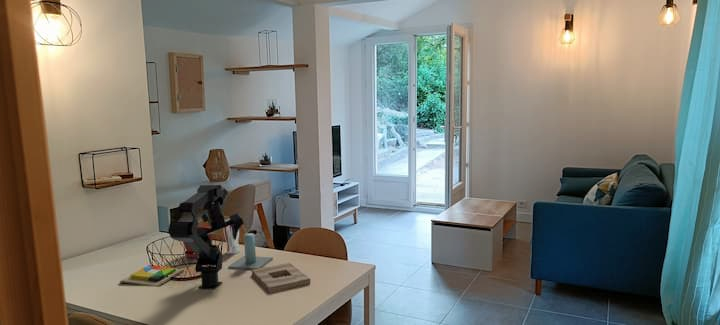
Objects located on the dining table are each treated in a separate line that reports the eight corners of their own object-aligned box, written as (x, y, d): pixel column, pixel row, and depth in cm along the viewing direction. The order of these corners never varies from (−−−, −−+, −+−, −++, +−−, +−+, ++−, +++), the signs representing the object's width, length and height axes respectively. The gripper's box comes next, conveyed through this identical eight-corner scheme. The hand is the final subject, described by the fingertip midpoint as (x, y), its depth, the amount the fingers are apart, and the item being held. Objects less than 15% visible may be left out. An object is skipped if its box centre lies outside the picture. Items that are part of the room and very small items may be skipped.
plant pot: (208, 259, 224) (206, 232, 223) (179, 259, 225) (177, 233, 223) (217, 249, 237) (215, 225, 236) (190, 250, 238) (187, 226, 236)
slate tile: (258, 270, 207) (258, 268, 207) (228, 268, 211) (227, 266, 211) (272, 259, 221) (272, 257, 221) (243, 257, 224) (243, 255, 224)
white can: (242, 249, 236) (240, 218, 234) (237, 254, 229) (235, 222, 227) (228, 249, 237) (226, 218, 235) (223, 254, 230) (220, 222, 228)
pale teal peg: (258, 261, 215) (256, 234, 214) (248, 264, 213) (246, 236, 211) (252, 259, 219) (251, 232, 217) (243, 262, 216) (241, 234, 214)
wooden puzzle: (161, 287, 194) (160, 278, 193) (118, 285, 198) (117, 276, 197) (185, 271, 210) (185, 263, 210) (145, 270, 214) (145, 262, 214)
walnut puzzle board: (310, 283, 191) (310, 278, 190) (269, 292, 183) (269, 287, 183) (289, 267, 210) (289, 262, 210) (252, 274, 202) (251, 270, 202)
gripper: (230, 195, 207) (238, 226, 215) (185, 213, 199) (196, 244, 207) (239, 207, 199) (248, 238, 206) (193, 226, 191) (204, 257, 198)
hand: (224, 244), depth 205 cm, fingers open, 9 cm apart
